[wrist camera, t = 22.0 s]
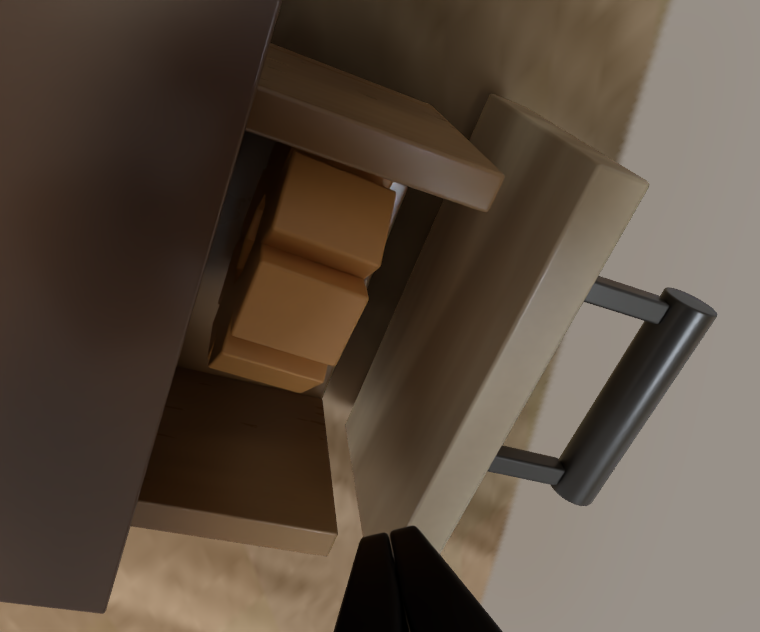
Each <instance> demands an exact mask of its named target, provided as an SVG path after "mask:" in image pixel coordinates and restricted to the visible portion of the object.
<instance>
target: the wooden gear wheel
mask: <svg viewBox="0 0 760 632" xmlns="http://www.w3.org/2000/svg"><path fill="white" fill-rule="evenodd" d="M392 183H393V181H390V180H388V179H385V178H382V177H379V176H376V175H373V174H370V173H367V172H364V171H361V170H358V169H355V168H352V167H349V166H347V165H344V164H341V163H338V162H335V161H332V160H329V159H326V158H323V157H320V156H317V155H314V154H311V153H308V152H306V151H303V150H300V149H297V148H294V147H291V146H288V145H285V144H282V143H279V142H276V143H275V145H274V147H273V148H272V151H271V155H270V158H269V161H268V165H267V168H266V169H264V170H263V172H262V175H261V177H260V180H259V182H258V185H257V188H256V190H255V193H254V195H253V198H252V201H251V203H250V206H249V208H248V211H247V214H246V216H245V219H244V222H243V228H242V236H241V238H240V240H239V241H238V243H237V244H236V246H235V248H234V251H233V254H232V257H231V261H230V264H229V267H228V270H227V274H226V277H225V280H224V284H223V287H222V290H221V294H220V297H219V300H218V304H219V305H220V306H219V308H218V311H217V313H216V316H215V318H214V321H213V325H212V331H211V337H210V343H209V349H208V360H209V362H208V367H210V368H213V369H216V370H220V371H223V372H227V373H230V374H234V375H237V376H241V377H244V378H248V379H251V380H255V381H258V382H262V383H265V384H269V385H272V386H276V387H279V388H283V389H286V390H290V391H293V392H297V393H302V392H304V391H306V390H309V389H311V388H313V387H316V386H318V385H320V384H322V383H323V382H324V379H325V375H326V371H327V367H328V365H330V366H336V364H337V363H338V361H339V359H340V357H341V355H342V353H343V350H344V348H345V346H346V344H347V342H348V340H349V338H350V336H351V334H352V332H353V330H354V328H355V326H356V324H357V322H358V320H359V318H360V316H361V314H362V312H363V310H364V308H365V306H366V304H367V302H368V300H369V297H368V293H367V289H366V285H365V281H364V279H365V278H366V277H368V276H369V275H370V274H372V273H373V272H374V271H376V270H377V269H378V268H379V267H380V266H381V262H382V257H383V253H384V248H385V244H386V239H387V235H388V230H389V226H390V221H391V216H392V212H393V207H394V203H395V198H396V192H395V191H393V190H391V189H390V187H391V185H392Z"/></svg>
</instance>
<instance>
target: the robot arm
mask: <svg viewBox="0 0 760 632" xmlns="http://www.w3.org/2000/svg"><path fill="white" fill-rule="evenodd" d="M390 540H391V543H390ZM391 545H392V547H391ZM392 550H393V551H392ZM409 629H410V630H409ZM334 632H502V630H501V629H500V628H499V627H498V625H497V624H496V623H495V622H494V621H493V619H492V618H491V617H490V616H489V614H488V613H487V612H486V611H485V609H484V608H483V607H482V606H481V605H480V603H479V602H478V601H477V600H476V598H475V597H474V596H473V595H472V593H471V592H470V591H469V590H468V589H467V587H466V586H465V585H464V584H463V582H462V581H461V580H460V579H459V578H458V576H457V575H456V574H455V573H454V571H453V570H452V569H451V568H450V566H449V565H448V564H447V563H446V562H445V560H444V559H443V558H442V557H441V555H440V554H439V553H438V552H437V550H436V549H435V548H434V547H433V546H432V544H431V543H430V542H429V541H428V539H427V538H426V537H425V536H424V534H423V533H422V532H421V531H420V530H419V529H418V528H417V527H416V526H408V527H403V528H399V529H395V530H392V531H391V532H390V538H389V535H388V534H387V533H385V532H382V533H378V534H373V535H369V536H365V537H363V538H362V539H361V541H360V543H359V546H358V549H357V553H356V556H355V560H354V563H353V567H352V570H351V573H350V577H349V580H348V584H347V587H346V591H345V594H344V598H343V601H342V604H341V608H340V611H339V615H338V618H337V622H336V625H335V629H334Z"/></svg>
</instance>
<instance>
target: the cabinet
mask: <svg viewBox="0 0 760 632" xmlns="http://www.w3.org/2000/svg"><path fill="white" fill-rule="evenodd" d="M281 5H282V0H0V602H6V603H15V604H23V605H32V606H41V607H49V608H58V609H66V610H75V611H84V612H92V613H101V614H102V613H104V612H105V611H106V609H107V605H108V602H109V598H110V595H111V591H112V588H113V584H114V581H115V578H116V574H117V571H118V567H119V564H120V560H121V557H122V553H123V550H124V546H125V543H126V540H127V536H128V533H129V529H130V526H131V522H132V519H133V515H134V512H135V509H136V505H137V502H138V498H139V495H140V491H141V488H142V484H143V481H144V477H145V474H146V471H147V467H148V464H149V460H150V457H151V453H152V450H153V446H154V443H155V439H156V436H157V433H158V429H159V426H160V422H161V419H162V415H163V412H164V408H165V405H166V402H167V398H168V395H169V391H170V388H171V384H172V381H173V377H174V374H175V370H176V367H177V364H178V360H179V357H180V353H181V350H182V346H183V343H184V339H185V336H186V332H187V329H188V326H189V322H190V319H191V315H192V312H193V308H194V305H195V301H196V298H197V295H198V291H199V288H200V284H201V281H202V277H203V274H204V270H205V267H206V263H207V260H208V257H209V253H210V250H211V246H212V243H213V239H214V236H215V232H216V229H217V225H218V222H219V219H220V215H221V212H222V208H223V205H224V201H225V198H226V194H227V191H228V188H229V184H230V181H231V177H232V174H233V170H234V167H235V163H236V160H237V156H238V153H239V150H240V146H241V143H242V139H243V136H244V132H245V129H246V125H247V122H248V118H249V115H250V112H251V108H252V105H253V101H254V98H255V94H256V91H257V87H258V84H259V81H260V77H261V74H262V70H263V67H264V63H265V60H266V56H267V53H268V49H269V46H270V43H271V39H272V36H273V32H274V29H275V25H276V22H277V18H278V15H279V11H280V8H281Z"/></svg>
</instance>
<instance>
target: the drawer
mask: <svg viewBox="0 0 760 632" xmlns="http://www.w3.org/2000/svg"><path fill="white" fill-rule="evenodd" d="M276 142H279V143H282V144H285V145H288V146H291V147H294V148H297V149H300V150H303V151H306V152H308V153H311V154H314V155H317V156H320V157H323V158H326V159H329V160H332V161H335V162H338V163H341V164H344V165H347V166H349V167H352V168H355V169H358V170H361V171H364V172H367V173H370V174H373V175H376V176H379V177H382V178H385V179H388V180H390V181H393V183H392V185H391V187H390V189H391V190H393V191H395V192H396V198H395V203H394V207H393V212H392V216H391V221H390V226H389V230H388V235H387V238H388V236H389V234H390V231H391V229H392V226H393V224H394V221H395V219H396V216H397V214H398V212H399V209H400V207H401V204H402V202H403V199H404V197H405V194H406V192H407V190H408V187H411V188H414V189H417V190H420V191H423V192H426V193H429V194H431V195H434V196H437V197H440V198H443V199H444V200H443V202H442V204H441V207H440V209H439V211H438V213H437V216H436V218H435V220H434V223H433V225H432V227H431V229H430V232H429V234H428V236H427V239H426V241H425V243H424V246H423V248H422V250H421V252H420V255H419V257H418V259H417V262H416V264H415V266H414V268H413V271H412V273H411V275H410V278H409V280H408V282H407V284H406V287H405V289H404V291H403V294H402V296H401V298H400V301H399V303H398V305H397V307H396V310H395V312H394V314H393V317H392V319H391V321H390V323H389V326H388V328H387V330H386V333H385V335H384V337H383V339H382V342H381V344H380V346H379V349H378V351H377V353H376V356H375V358H374V360H373V362H372V365H371V367H370V369H369V372H368V374H367V376H366V378H365V381H364V383H363V385H362V388H361V390H360V392H359V394H358V397H357V399H356V401H355V404H354V406H353V408H352V411H351V413H350V415H349V417H348V420H347V422H346V424H345V426H346V432H347V439H348V445H349V451H350V458H351V464H352V470H353V477H354V483H355V490H356V496H357V502H358V509H359V515H360V521H361V528H362V534H363V537H365V536H369V535H373V534H378V533H382V532H385V533H387V534H388V535H389V538H390V532H391V531H392V530H395V529H399V528H403V527H408V526H416V527H417V528H418V529H419V530H420V531H421V532H422V533H423V534H424V536H425V537H426V538H427V539H428V541H429V542H430V543H431V544H432V546H433V547H434V548H435V549H436V550H437V552H438V553H439V554H440V553H441V551H442V550H443V548H444V546H445V544H446V543H447V541H448V539H449V537H450V535H451V534H452V532H453V530H454V528H455V527H456V525H457V523H458V521H459V520H460V518H461V516H462V514H463V513H464V511H465V509H466V507H467V506H468V504H469V502H470V500H471V499H472V497H473V495H474V493H475V492H476V490H477V488H478V486H479V485H480V483H481V481H482V479H483V478H484V476H485V474H486V472H487V471H489V472H494V473H498V474H503V475H508V476H513V477H517V478H522V479H527V480H532V481H537V482H541V483H546V484H550V485H551V486H552V488H553V489H554V490H555V491H556V492H557V493H558V494H559V495H560V496H561V497H562V498H564V499H565V500H567V501H569V502H571V503H573V504H576V505H579V506H587V505H589V504H591V503H592V502H593V500H594V499H595V497H596V496H597V494H598V493H599V491H600V490H601V488H602V487H603V485H604V484H605V482H606V481H607V479H608V478H609V476H610V475H611V473H612V472H613V470H614V469H615V467H616V466H617V464H618V463H619V461H620V460H621V458H622V457H623V455H624V454H625V452H626V451H627V450H628V448H629V447H630V445H631V444H632V442H633V440H634V439H635V438H636V436H637V435H638V433H639V432H640V430H641V429H642V427H643V426H644V424H645V423H646V421H647V420H648V418H649V417H650V415H651V414H652V412H653V411H654V409H655V408H656V406H657V405H658V403H659V402H660V400H661V399H662V397H663V396H664V394H665V393H666V392H667V390H668V388H669V387H670V385H671V384H672V383H673V381H674V380H675V378H676V377H677V375H678V374H679V372H680V371H681V369H682V368H683V366H684V364H685V363H686V362H687V360H688V359H689V357H690V356H691V354H692V353H693V351H694V350H695V348H696V347H697V345H698V344H699V342H700V341H701V340H702V338H703V336H704V335H705V333H706V332H707V331H708V329H709V327H710V326H711V325H712V323H713V322H714V320H715V319H716V317H717V313H716V312H715V311H714V309H713V308H711V307H710V306H709V305H707V304H706V303H704V302H703V301H701V300H699V299H698V298H696V297H694V296H692V295H690V294H688V293H685V292H683V291H681V290H678V289H674V288H665V289H664V291H663V292H662V294H661V295H660V297H659V296H658V295H655V294H652V293H649V292H646V291H643V290H639V289H637V288H634V287H631V286H628V285H625V284H622V283H619V282H616V281H613V280H610V279H606V278H603V277H600V276H598V275H599V274H600V272H601V270H602V268H603V267H604V265H605V263H606V261H607V260H608V258H609V256H610V254H611V253H612V251H613V249H614V247H615V246H616V244H617V242H618V240H619V238H620V237H621V235H622V233H623V231H624V230H625V228H626V226H627V225H628V223H629V221H630V219H631V218H632V216H633V214H634V212H635V210H636V208H637V207H638V205H639V203H640V202H641V200H642V198H643V196H644V195H645V193H646V191H647V189H648V187H649V183H648V182H647V181H646V180H644V179H643V178H641V177H639V176H638V175H636V174H635V173H633V172H631V171H630V170H628V169H626V168H625V167H623V166H622V165H620V164H618V163H617V162H615V161H613V160H612V159H610V158H608V157H607V156H605V155H603V154H602V153H600V152H599V151H597V150H595V149H594V148H592V147H590V146H589V145H587V144H585V143H584V142H582V141H581V140H579V139H577V138H576V137H574V136H572V135H571V134H569V133H567V132H566V131H564V130H563V129H561V128H559V127H558V126H556V125H554V124H553V123H551V122H549V121H548V120H546V119H544V118H543V117H541V116H540V115H538V114H536V113H535V112H533V111H531V110H530V109H528V108H526V107H524V106H522V105H519V104H517V103H514V102H512V101H510V100H507V99H505V98H502V97H500V96H497V95H495V94H490V95H489V97H488V99H487V101H486V103H485V106H484V108H483V110H482V113H481V115H480V117H479V119H478V122H477V124H476V126H475V129H474V131H473V133H472V136H471V138H470V140H467V139H466V138H465V137H464V136H463V135H462V134H461V133H460V132H459V131H458V130H457V129H456V128H455V127H454V126H453V125H452V124H451V123H450V122H449V121H448V120H447V119H446V118H444V117H443V116H442V115H441V114H440V113H439V112H438V111H437V110H436V109H435V108H434V107H433V106H432V105H430V104H427V103H425V102H422V101H420V100H417V99H414V98H412V97H409V96H407V95H404V94H401V93H399V92H396V91H394V90H391V89H388V88H386V87H383V86H381V85H378V84H376V83H373V82H370V81H368V80H365V79H363V78H360V77H357V76H355V75H352V74H350V73H347V72H344V71H342V70H339V69H337V68H334V67H331V66H329V65H326V64H324V63H321V62H318V61H316V60H313V59H311V58H308V57H305V56H303V55H300V54H298V53H295V52H292V51H290V50H287V49H285V48H282V47H279V46H277V45H274V44H272V43H270V46H269V49H268V53H267V56H266V60H265V63H264V67H263V70H262V74H261V77H260V81H259V84H258V87H257V91H256V94H255V98H254V101H253V105H252V108H251V112H250V115H249V118H248V122H247V125H246V129H245V132H244V136H243V139H242V143H241V146H240V150H239V153H238V156H237V160H236V163H235V167H234V170H233V174H232V177H231V181H230V184H229V188H228V191H227V194H226V198H225V201H224V205H223V208H222V212H221V215H220V219H219V222H218V225H217V229H216V232H215V236H214V239H213V243H212V246H211V250H210V253H209V257H208V260H207V263H206V267H205V270H204V274H203V277H202V281H201V284H200V288H199V291H198V295H197V298H196V301H195V305H194V308H193V312H192V315H191V319H190V322H189V326H188V329H187V332H186V336H185V339H184V343H183V346H182V350H181V353H180V357H179V360H178V364H177V367H176V370H175V374H174V377H173V381H172V384H171V388H170V391H169V395H168V398H167V402H166V405H165V408H164V412H163V415H162V419H161V422H160V426H159V429H158V433H157V436H156V439H155V443H154V446H153V450H152V453H151V457H150V460H149V464H148V467H147V471H146V474H145V477H144V481H143V484H142V488H141V491H140V495H139V498H138V502H137V505H136V509H135V512H134V515H133V519H132V522H131V526H133V527H139V528H146V529H152V530H159V531H165V532H172V533H178V534H185V535H191V536H197V537H204V538H210V539H217V540H223V541H230V542H236V543H242V544H249V545H255V546H262V547H268V548H275V549H281V550H288V551H294V552H300V553H307V554H313V555H320V556H328V554H329V552H330V550H331V548H332V546H333V544H334V541H335V539H336V537H337V535H338V531H337V522H336V514H335V505H334V496H333V488H332V479H331V470H330V462H329V453H328V444H327V436H326V427H325V418H324V410H323V401H322V397H323V395H324V392H325V390H326V387H327V385H328V383H329V380H330V378H331V375H332V373H333V370H334V368H335V366H330V365H328V367H327V371H326V375H325V379H324V382H323V383H322V384H320V385H318V386H316V387H313V388H311V389H309V390H306V391H304V392H302V393H297V392H293V391H290V390H286V389H283V388H279V387H276V386H272V385H269V384H265V383H262V382H258V381H255V380H251V379H248V378H244V377H241V376H237V375H234V374H230V373H227V372H223V371H220V370H216V369H213V368H210V367H208V362H209V360H208V349H209V343H210V337H211V331H212V325H213V321H214V318H215V316H216V313H217V311H218V308H219V306H220V305H219V304H218V300H219V297H220V294H221V290H222V287H223V284H224V280H225V277H226V274H227V270H228V267H229V264H230V261H231V257H232V254H233V251H234V248H235V246H236V244H237V243H238V241H239V240H240V238H241V236H242V228H243V222H244V219H245V216H246V214H247V211H248V208H249V206H250V203H251V201H252V198H253V195H254V193H255V190H256V188H257V185H258V182H259V180H260V177H261V175H262V172H263V170H264V169H266V168H267V165H268V161H269V158H270V155H271V151H272V148H273V147H274V145H275V143H276ZM386 241H387V239H386ZM373 273H374V272H373ZM373 273H372V274H370V275H369V276H368V277H366V278H365V279H364V281H365V285H366V289H367V287H368V285H369V282H370V280H371V278H372V275H373ZM583 302H587V303H590V304H593V305H596V306H599V307H603V308H606V309H609V310H612V311H616V312H618V313H622V314H625V315H628V316H632V317H634V318H638V319H641V320H644V323H643V324H642V326H641V328H640V329H639V331H638V333H637V334H636V336H635V337H634V339H633V340H632V342H631V344H630V346H629V347H628V348H627V350H626V352H625V353H624V355H623V357H622V358H621V360H620V362H619V363H618V365H617V366H616V368H615V369H614V371H613V373H612V374H611V376H610V378H609V379H608V381H607V382H606V384H605V386H604V387H603V389H602V390H601V392H600V394H599V395H598V397H597V398H596V400H595V402H594V403H593V405H592V407H591V408H590V410H589V412H588V413H587V414H586V416H585V418H584V419H583V421H582V422H581V424H580V426H579V427H578V429H577V431H576V432H575V434H574V435H573V437H572V439H571V440H570V442H569V443H568V445H567V447H566V448H565V450H564V451H563V453H562V455H561V456H560V458H559V459H558V458H555V457H551V456H547V455H542V454H537V453H533V452H529V451H524V450H520V449H516V448H511V447H507V446H502V444H503V442H504V441H505V439H506V437H507V435H508V434H509V432H510V430H511V428H512V427H513V425H514V423H515V421H516V420H517V418H518V416H519V414H520V413H521V411H522V409H523V407H524V405H525V404H526V402H527V400H528V398H529V397H530V395H531V393H532V391H533V390H534V388H535V386H536V384H537V383H538V381H539V379H540V377H541V376H542V374H543V372H544V370H545V369H546V367H547V365H548V363H549V362H550V360H551V358H552V356H553V355H554V353H555V351H556V349H557V348H558V346H559V344H560V342H561V340H562V339H563V337H564V335H565V333H566V332H567V330H568V328H569V326H570V325H571V323H572V321H573V319H574V318H575V316H576V314H577V312H578V311H579V309H580V307H581V305H582V304H583ZM390 543H391V540H390ZM391 547H392V545H391ZM392 551H393V550H392Z"/></svg>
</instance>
